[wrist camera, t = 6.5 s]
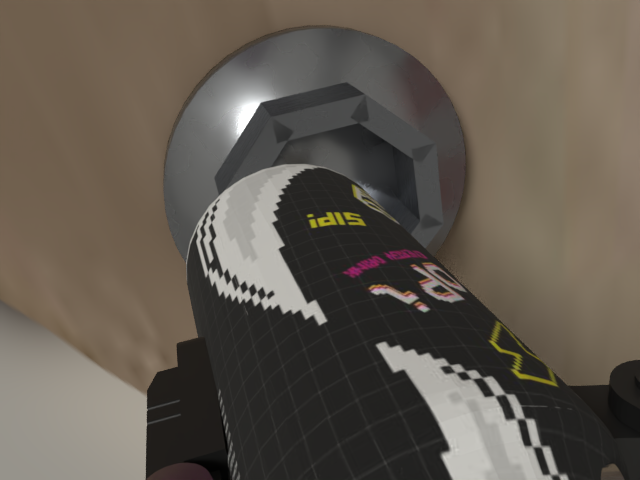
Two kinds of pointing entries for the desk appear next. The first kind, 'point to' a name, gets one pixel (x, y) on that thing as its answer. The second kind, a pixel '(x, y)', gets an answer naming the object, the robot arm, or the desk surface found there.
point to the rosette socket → (320, 128)
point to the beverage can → (367, 349)
